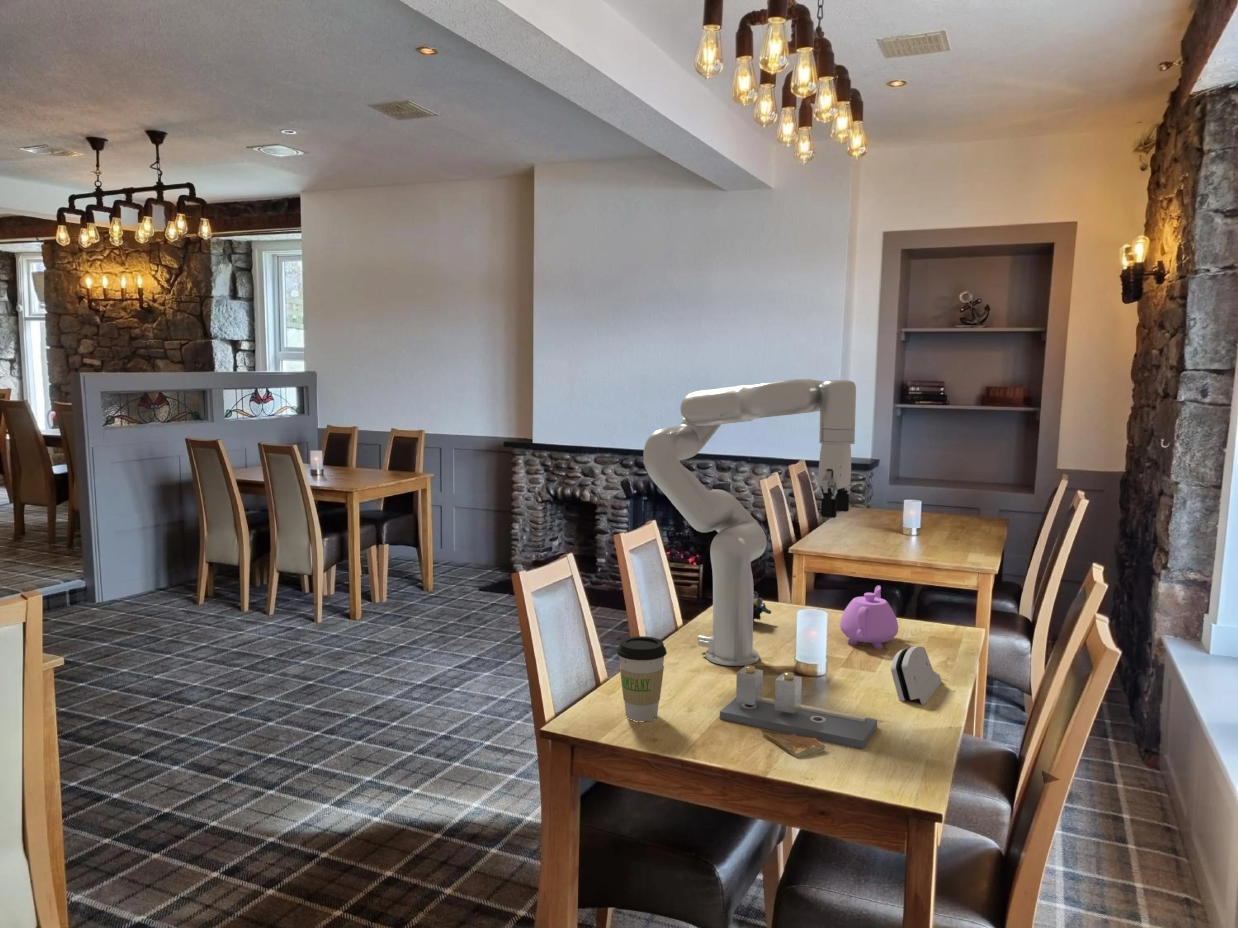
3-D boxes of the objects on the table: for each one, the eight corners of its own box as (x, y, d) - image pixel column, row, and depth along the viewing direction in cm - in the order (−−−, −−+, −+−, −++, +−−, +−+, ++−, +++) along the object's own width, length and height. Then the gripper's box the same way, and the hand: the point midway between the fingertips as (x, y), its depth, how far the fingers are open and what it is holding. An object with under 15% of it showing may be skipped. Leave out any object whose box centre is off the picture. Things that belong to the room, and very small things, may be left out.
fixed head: (736, 704, 175) (736, 667, 174) (743, 698, 178) (744, 662, 177) (755, 708, 173) (755, 671, 172) (762, 702, 176) (762, 665, 175)
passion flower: (750, 640, 241) (777, 606, 240) (742, 644, 231) (770, 609, 229) (719, 613, 245) (745, 580, 243) (709, 616, 235) (737, 581, 233)
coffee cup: (609, 711, 177) (609, 638, 175) (653, 703, 180) (653, 632, 179) (629, 729, 168) (629, 653, 166) (674, 721, 171) (675, 646, 170)
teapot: (851, 626, 235) (852, 581, 234) (906, 634, 228) (907, 587, 227) (830, 647, 218) (832, 598, 216) (889, 656, 211) (890, 605, 209)
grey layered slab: (923, 705, 179) (908, 658, 180) (901, 708, 182) (886, 661, 183) (942, 681, 193) (928, 637, 194) (921, 684, 196) (907, 641, 197)
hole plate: (719, 718, 173) (719, 708, 172) (740, 700, 182) (740, 691, 182) (862, 748, 159) (862, 737, 159) (877, 727, 168) (877, 717, 168)
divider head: (774, 712, 171) (775, 674, 170) (781, 705, 174) (782, 668, 173) (794, 716, 169) (795, 678, 168) (800, 709, 172) (801, 672, 171)
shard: (761, 738, 165) (761, 728, 165) (794, 731, 168) (794, 722, 168) (795, 761, 155) (795, 751, 155) (830, 753, 158) (830, 743, 158)
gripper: (831, 433, 201) (829, 507, 203) (808, 438, 186) (806, 518, 188) (864, 434, 197) (862, 510, 199) (843, 440, 183) (841, 521, 184)
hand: (835, 513), depth 194 cm, fingers open, 9 cm apart
